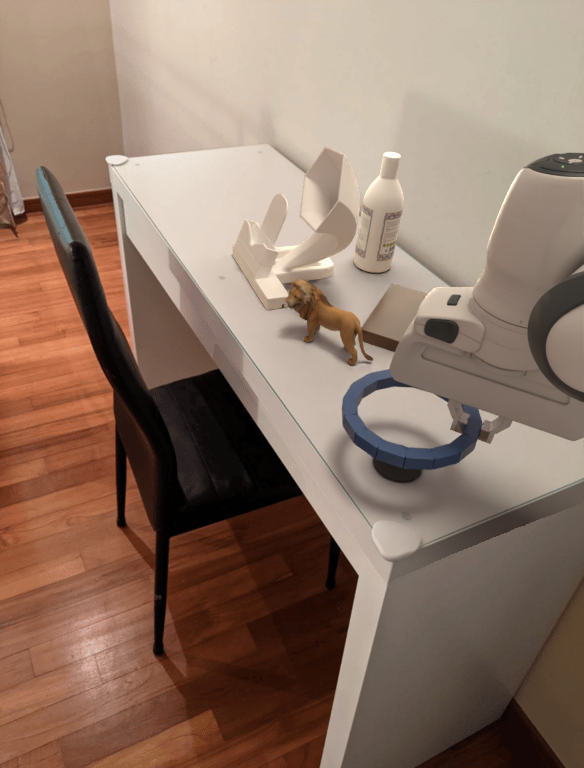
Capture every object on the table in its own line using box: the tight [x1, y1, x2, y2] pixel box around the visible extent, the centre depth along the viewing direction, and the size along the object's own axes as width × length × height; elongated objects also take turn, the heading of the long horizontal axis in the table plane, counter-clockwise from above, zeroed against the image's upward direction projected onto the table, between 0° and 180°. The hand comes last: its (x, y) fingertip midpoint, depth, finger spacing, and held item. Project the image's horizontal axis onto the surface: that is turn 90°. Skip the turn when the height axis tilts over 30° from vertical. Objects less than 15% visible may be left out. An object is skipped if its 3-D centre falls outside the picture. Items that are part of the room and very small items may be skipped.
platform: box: [357, 282, 428, 352], centre depth 94 cm, size 16×16×6 cm
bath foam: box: [353, 151, 405, 274], centre depth 105 cm, size 7×7×20 cm
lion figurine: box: [285, 279, 374, 366], centre depth 88 cm, size 15×5×9 cm, turn 60°
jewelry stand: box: [231, 146, 361, 311], centre depth 96 cm, size 25×16×25 cm, turn 21°
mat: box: [372, 443, 423, 484], centre depth 73 cm, size 6×6×1 cm
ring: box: [341, 368, 483, 471], centre depth 68 cm, size 15×15×2 cm
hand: (470, 433), depth 66 cm, fingers closed on ring, 2 cm apart
